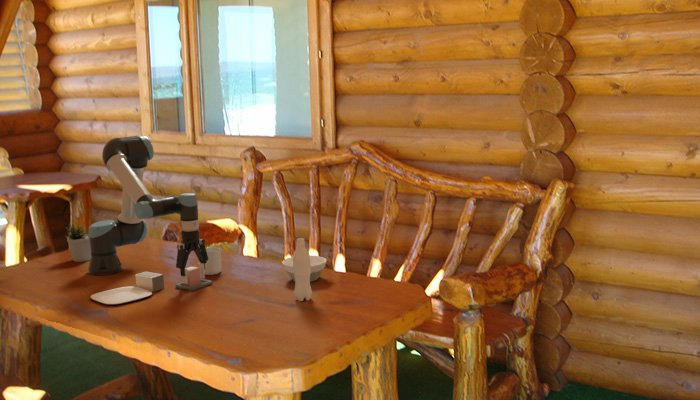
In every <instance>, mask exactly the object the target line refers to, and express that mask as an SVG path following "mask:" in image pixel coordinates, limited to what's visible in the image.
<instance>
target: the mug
mask: <svg viewBox="0 0 700 400" xmlns="http://www.w3.org/2000/svg"><path fill="white" fill-rule="evenodd" d="M205 248H206V252H207V255H208V261H207V263H205V270H204V272H205V276H206V275H207V276H213V275H214V274H215V275H219V274H220V273H221V271H222V257H221V248H220V247H218V246H207V247H205Z"/></svg>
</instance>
